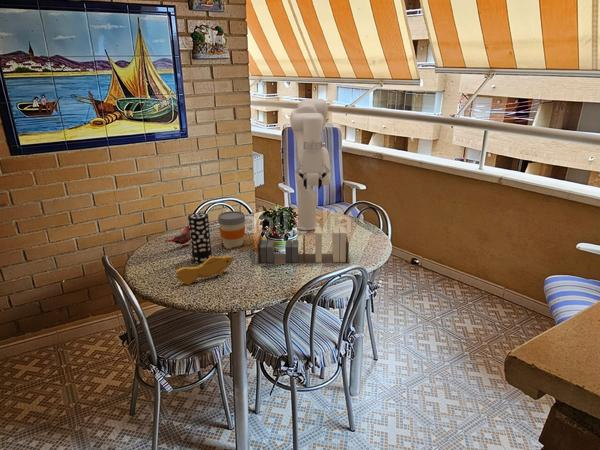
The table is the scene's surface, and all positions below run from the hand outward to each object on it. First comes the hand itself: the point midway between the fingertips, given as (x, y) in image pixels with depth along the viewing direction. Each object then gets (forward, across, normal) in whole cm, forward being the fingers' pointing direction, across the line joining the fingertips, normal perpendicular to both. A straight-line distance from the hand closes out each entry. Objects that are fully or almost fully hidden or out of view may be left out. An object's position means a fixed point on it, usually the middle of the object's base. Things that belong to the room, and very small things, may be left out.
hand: (312, 187), depth 177 cm
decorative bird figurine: (+29, +62, -2) cm, 68 cm away
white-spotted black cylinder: (+29, +48, +12) cm, 58 cm away
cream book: (+27, -2, +14) cm, 31 cm away
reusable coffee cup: (+29, +37, -4) cm, 48 cm away
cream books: (+27, -11, +14) cm, 32 cm away
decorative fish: (+28, +42, +31) cm, 59 cm away
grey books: (+27, +14, +14) cm, 34 cm away
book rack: (+28, +4, +14) cm, 32 cm away
